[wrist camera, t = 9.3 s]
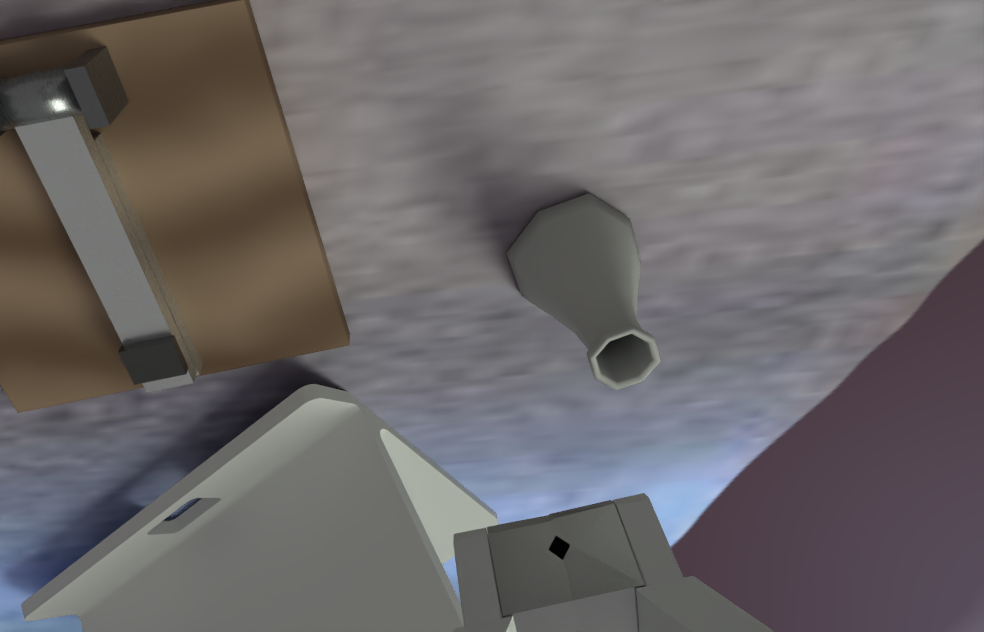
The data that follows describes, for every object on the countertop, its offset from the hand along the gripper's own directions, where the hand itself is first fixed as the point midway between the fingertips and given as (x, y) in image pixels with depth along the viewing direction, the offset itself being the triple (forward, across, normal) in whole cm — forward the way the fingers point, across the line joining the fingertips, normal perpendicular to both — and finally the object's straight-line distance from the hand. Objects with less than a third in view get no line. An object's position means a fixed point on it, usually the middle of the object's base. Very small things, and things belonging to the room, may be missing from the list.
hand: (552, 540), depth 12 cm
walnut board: (+29, +16, +5) cm, 34 cm away
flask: (+29, -6, +12) cm, 32 cm away
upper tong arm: (+27, +16, +5) cm, 32 cm away
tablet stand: (+30, +16, +29) cm, 45 cm away
